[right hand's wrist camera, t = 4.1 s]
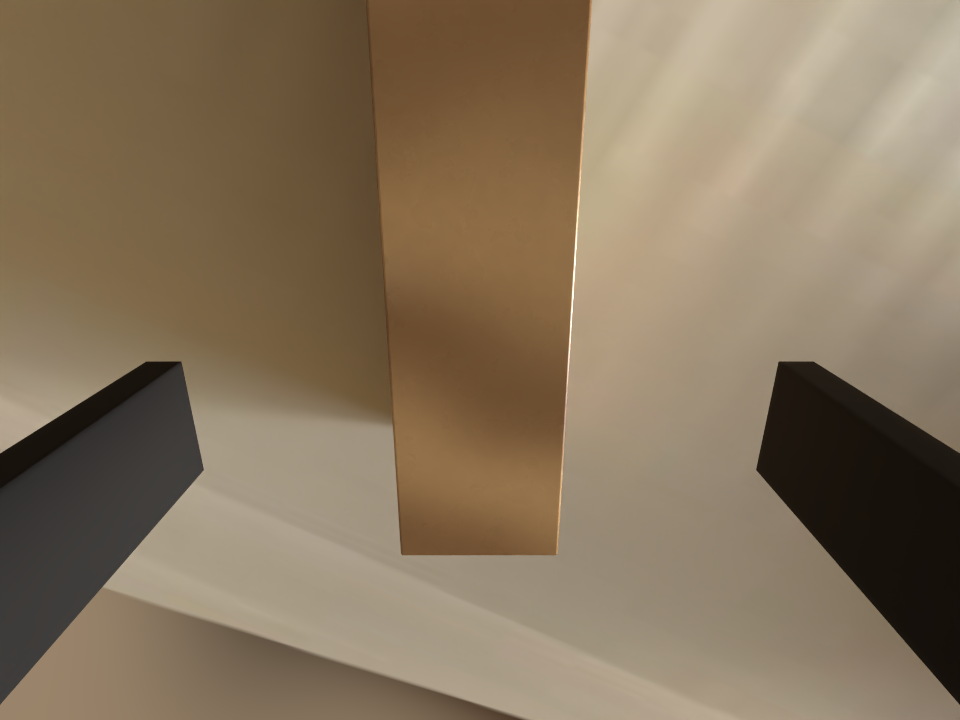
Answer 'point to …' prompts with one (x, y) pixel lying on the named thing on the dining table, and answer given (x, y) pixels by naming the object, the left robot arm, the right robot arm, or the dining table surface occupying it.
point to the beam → (479, 260)
